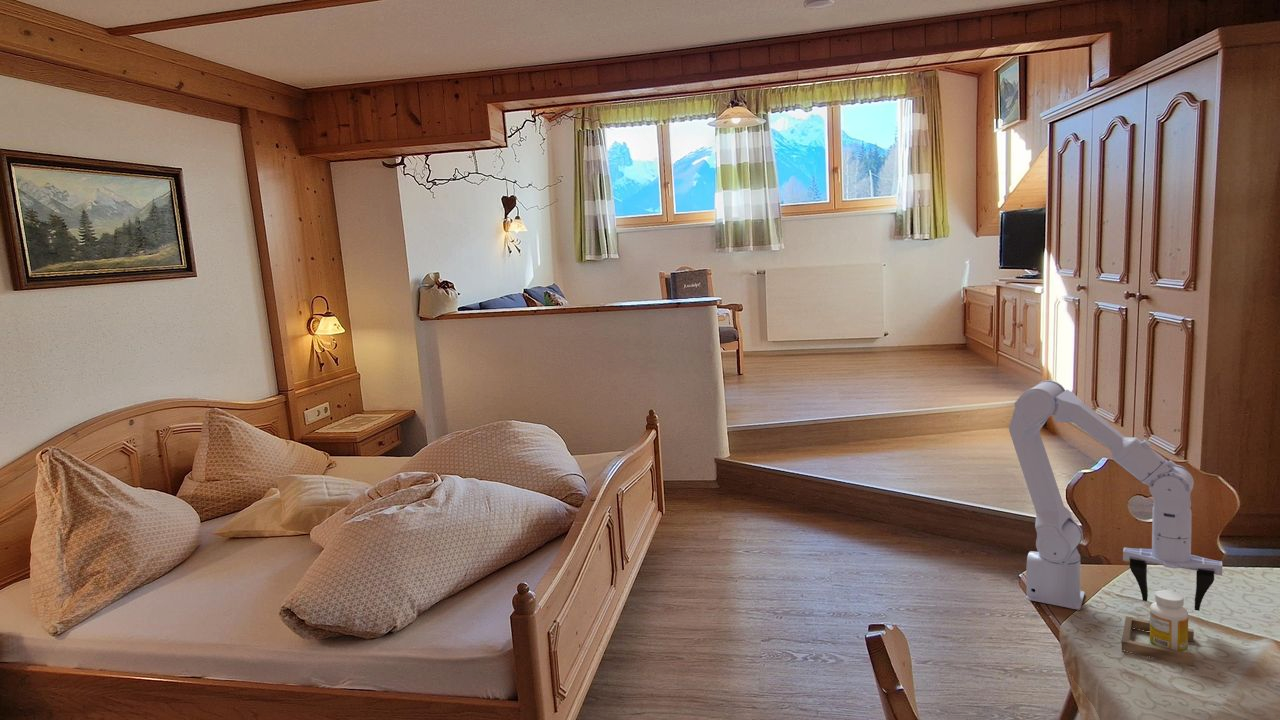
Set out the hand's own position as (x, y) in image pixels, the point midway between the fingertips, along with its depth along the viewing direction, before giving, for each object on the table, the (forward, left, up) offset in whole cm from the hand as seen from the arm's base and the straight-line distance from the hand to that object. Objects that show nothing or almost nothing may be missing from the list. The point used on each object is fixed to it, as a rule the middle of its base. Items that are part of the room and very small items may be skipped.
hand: (1170, 603), depth 132 cm
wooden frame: (-1, -9, -4) cm, 10 cm away
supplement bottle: (0, -9, -4) cm, 10 cm away
